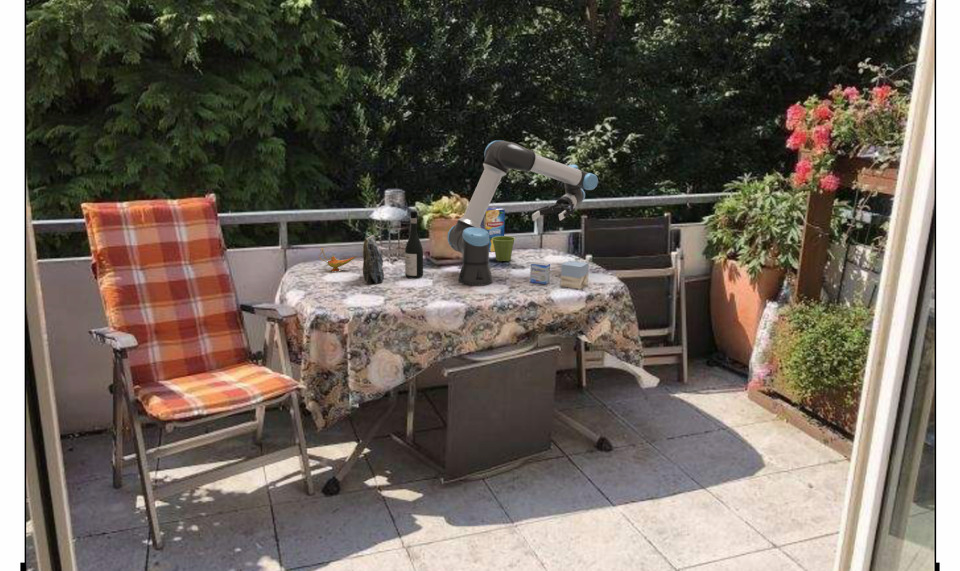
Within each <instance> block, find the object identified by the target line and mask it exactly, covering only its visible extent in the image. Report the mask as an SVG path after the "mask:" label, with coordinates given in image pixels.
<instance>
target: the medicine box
mask: <svg viewBox="0 0 960 571" xmlns="http://www.w3.org/2000/svg"><path fill="white" fill-rule="evenodd" d="M550 274H551V263H544V262H543V263H542V262H532V263H531V264H530V274H529V283H531V284H539V285H548V284H550V277H551V275H550Z"/></svg>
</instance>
